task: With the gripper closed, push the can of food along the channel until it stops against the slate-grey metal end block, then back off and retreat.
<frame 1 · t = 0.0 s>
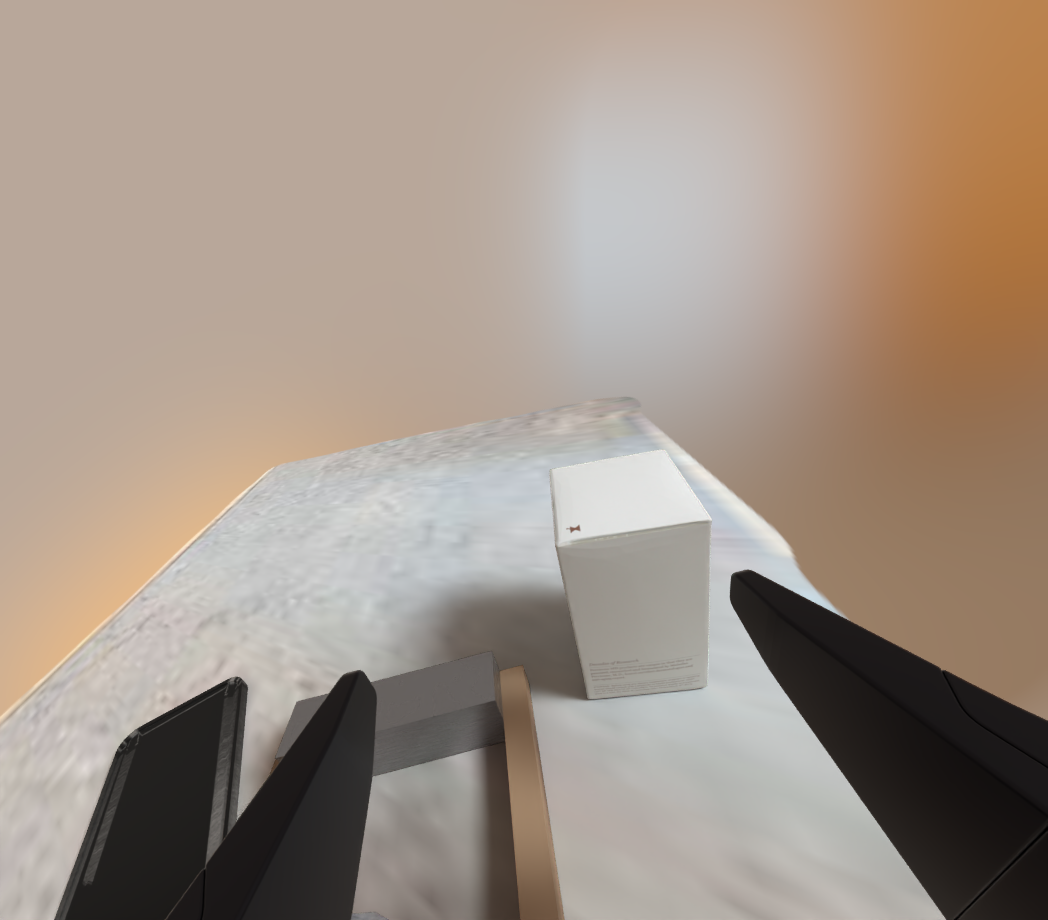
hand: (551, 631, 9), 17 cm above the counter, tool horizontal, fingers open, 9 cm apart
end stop: (414, 738, 24), on the counter
phone: (173, 816, 23), on the counter
supplement box: (634, 643, 27), on the counter
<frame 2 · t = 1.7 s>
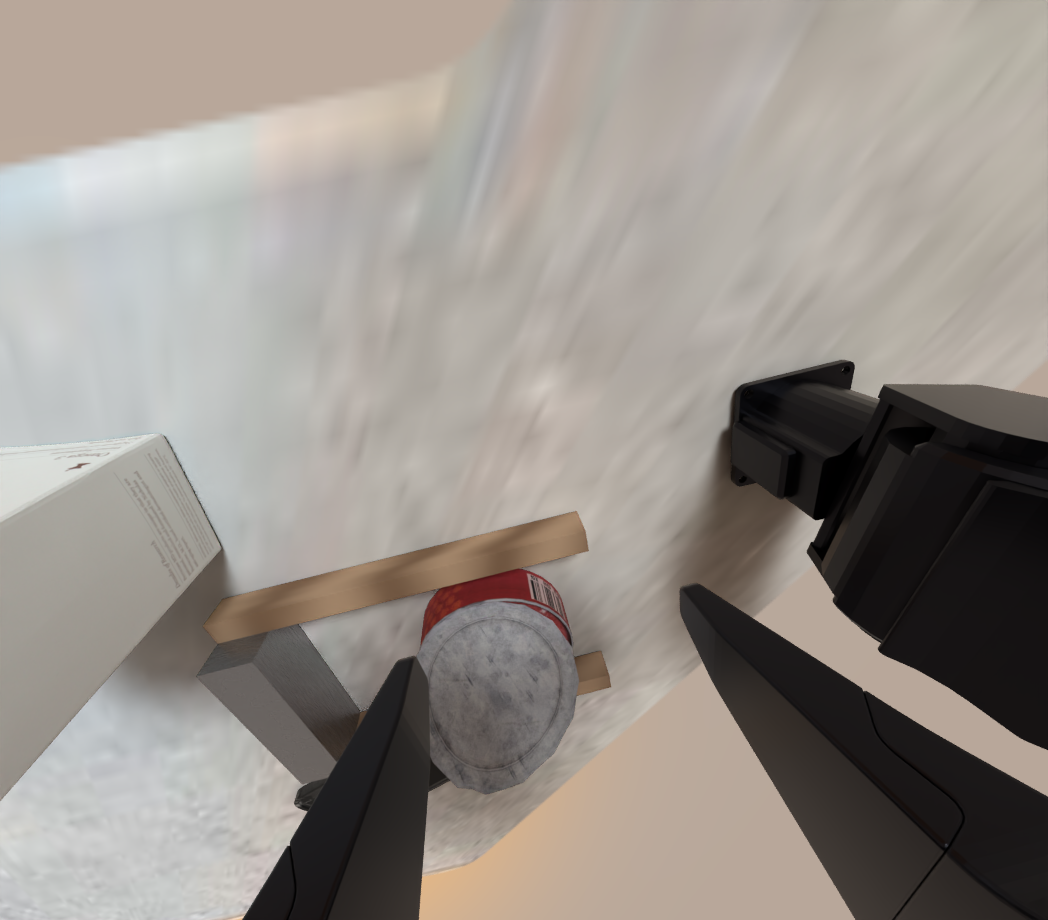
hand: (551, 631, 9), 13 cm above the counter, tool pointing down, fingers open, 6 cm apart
guide channel: (438, 635, 27), on the counter
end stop: (304, 669, 27), on the counter
phone: (391, 765, 34), on the counter
supplement box: (124, 499, 20), on the counter
canned food: (494, 616, 28), on the counter
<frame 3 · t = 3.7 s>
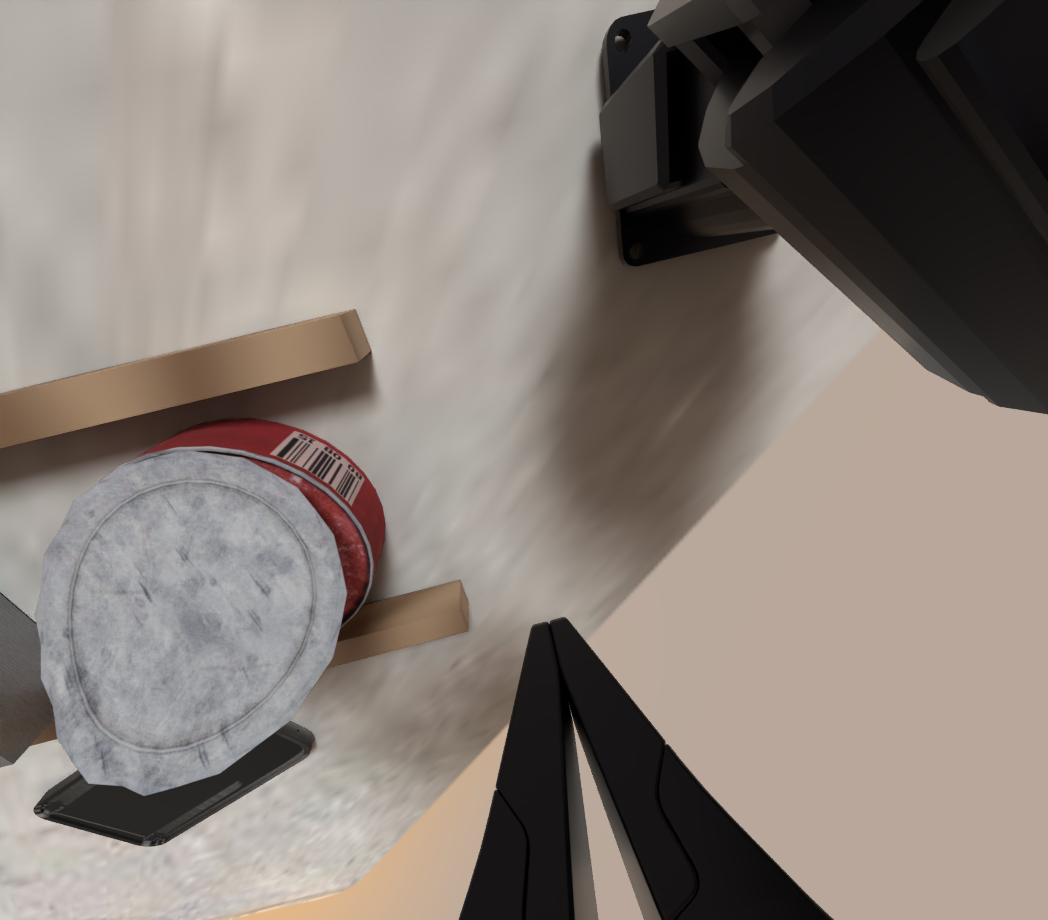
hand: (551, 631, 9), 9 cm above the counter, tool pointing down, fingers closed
guide channel: (179, 544, 17), on the counter
phone: (189, 757, 24), on the counter
canned food: (272, 516, 18), on the counter
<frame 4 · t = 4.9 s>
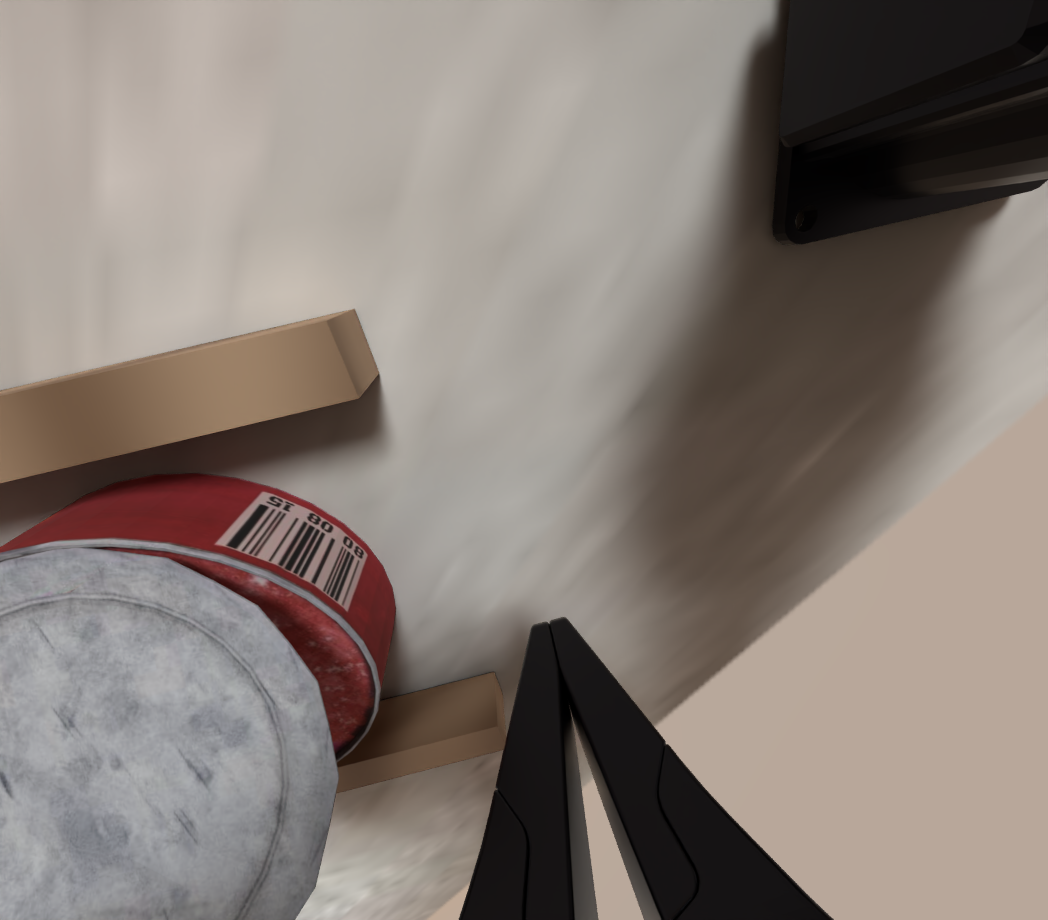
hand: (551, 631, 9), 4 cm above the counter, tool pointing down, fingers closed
guide channel: (102, 642, 12), on the counter
canned food: (237, 600, 12), on the counter
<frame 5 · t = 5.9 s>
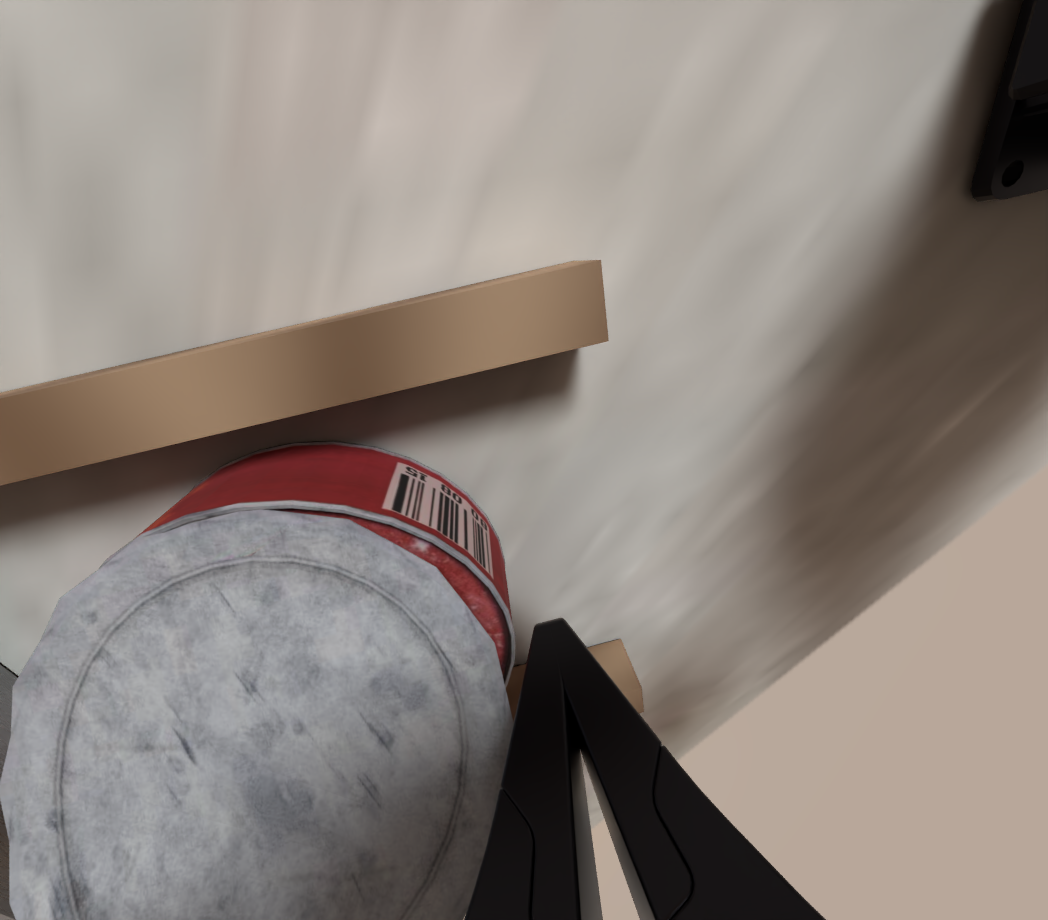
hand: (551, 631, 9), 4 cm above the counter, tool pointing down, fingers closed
guide channel: (266, 603, 12), on the counter
canned food: (349, 578, 12), on the counter, touching gripper
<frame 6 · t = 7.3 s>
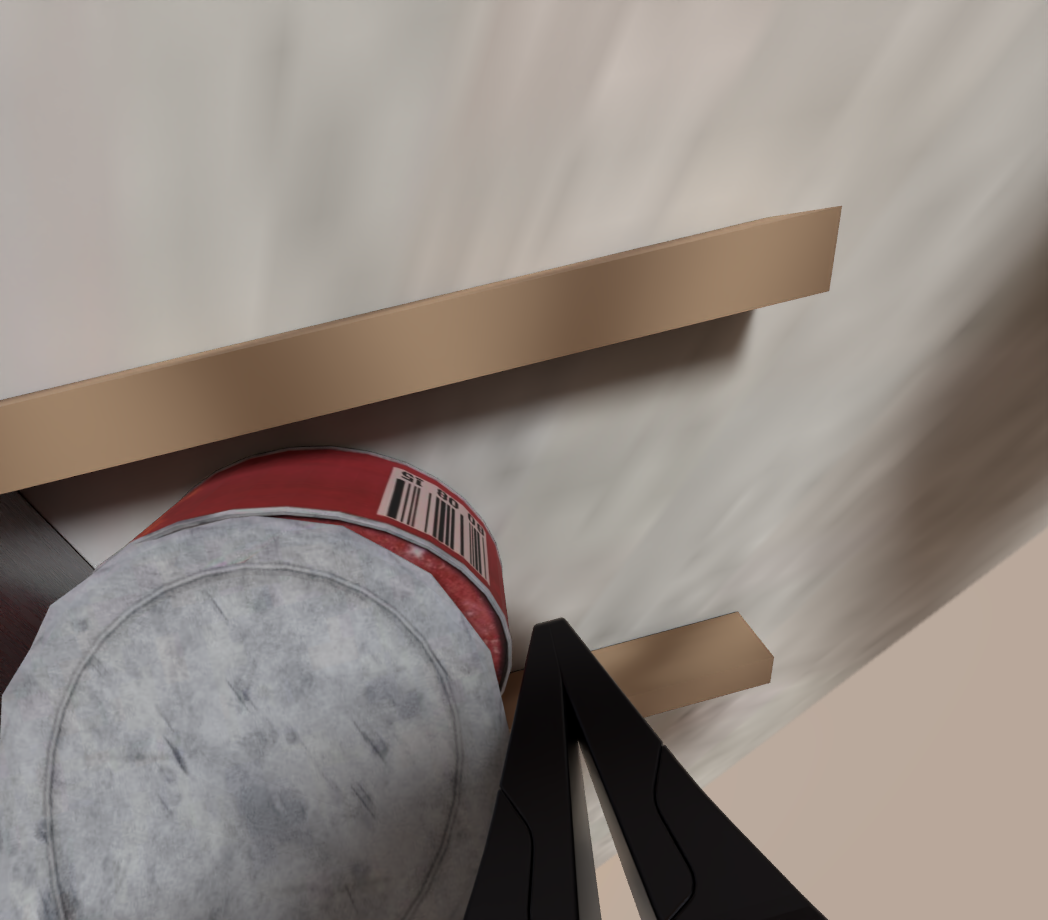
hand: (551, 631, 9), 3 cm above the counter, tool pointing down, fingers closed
guide channel: (414, 571, 12), on the counter
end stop: (111, 650, 12), on the counter
canned food: (345, 583, 12), on the counter, touching gripper
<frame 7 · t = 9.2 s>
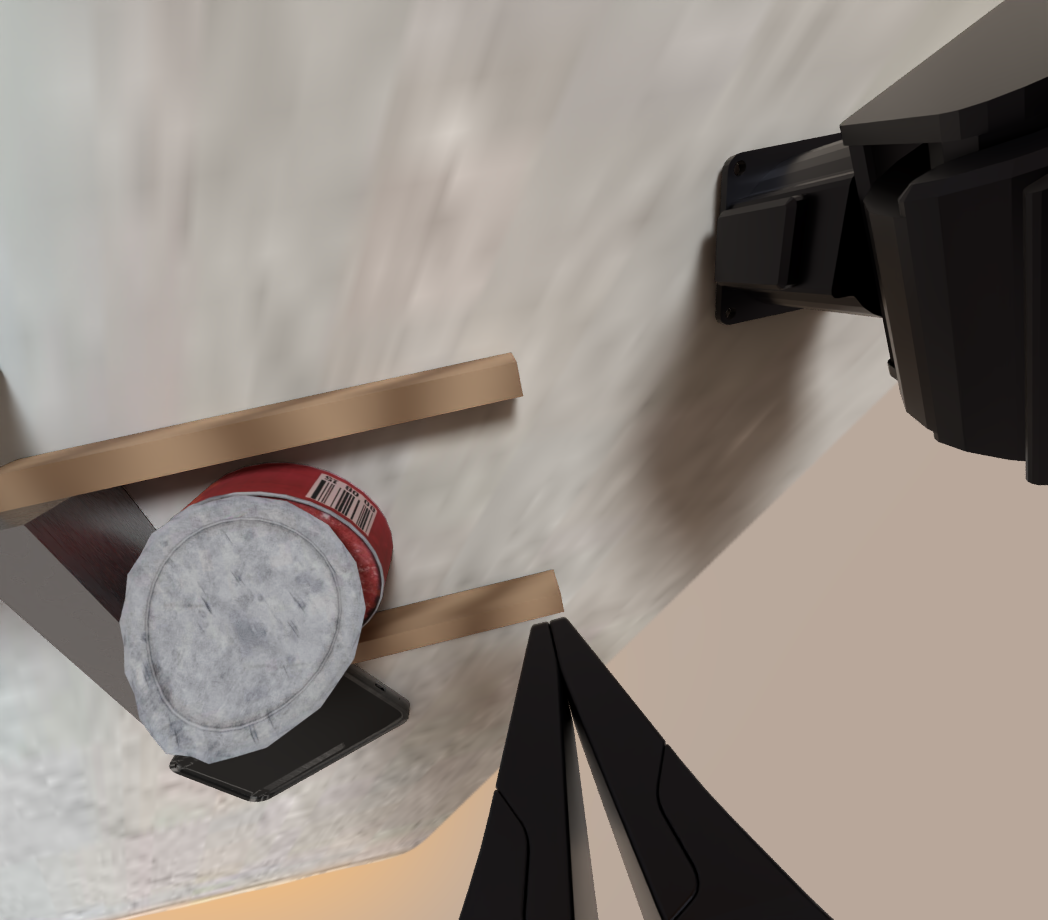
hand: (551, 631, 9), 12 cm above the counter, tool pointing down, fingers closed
guide channel: (338, 535, 21), on the counter
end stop: (158, 577, 20), on the counter
phone: (299, 722, 28), on the counter
canned food: (298, 539, 21), on the counter
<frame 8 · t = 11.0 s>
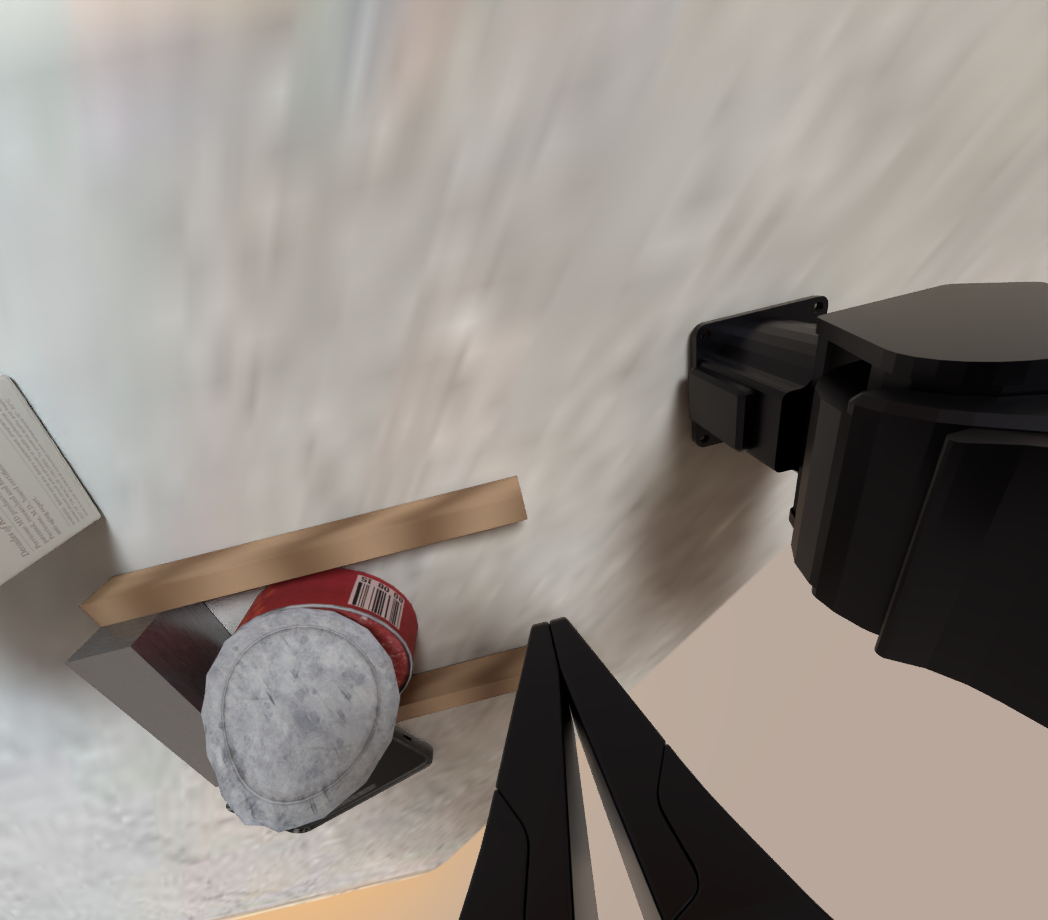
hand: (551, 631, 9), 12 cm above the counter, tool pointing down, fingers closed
guide channel: (371, 619, 24), on the counter
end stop: (221, 658, 24), on the counter
phone: (335, 765, 32), on the counter
canned food: (337, 623, 25), on the counter
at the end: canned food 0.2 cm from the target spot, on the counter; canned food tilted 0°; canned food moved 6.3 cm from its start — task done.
